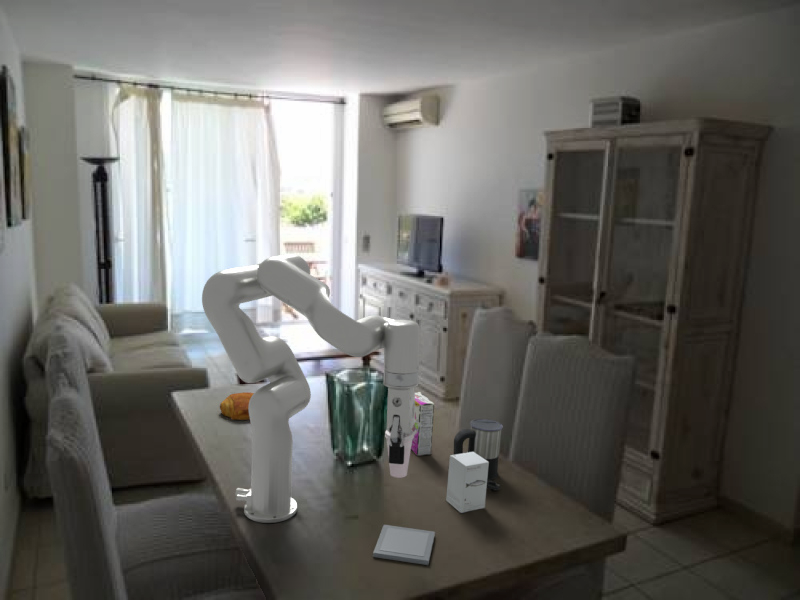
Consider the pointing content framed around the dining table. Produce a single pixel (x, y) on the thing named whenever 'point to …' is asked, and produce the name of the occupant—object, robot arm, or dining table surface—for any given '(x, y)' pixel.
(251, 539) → the dining table surface
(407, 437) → the smoothie
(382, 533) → the plate
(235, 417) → the croissant
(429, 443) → the candy bar box
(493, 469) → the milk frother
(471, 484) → the supplement box
